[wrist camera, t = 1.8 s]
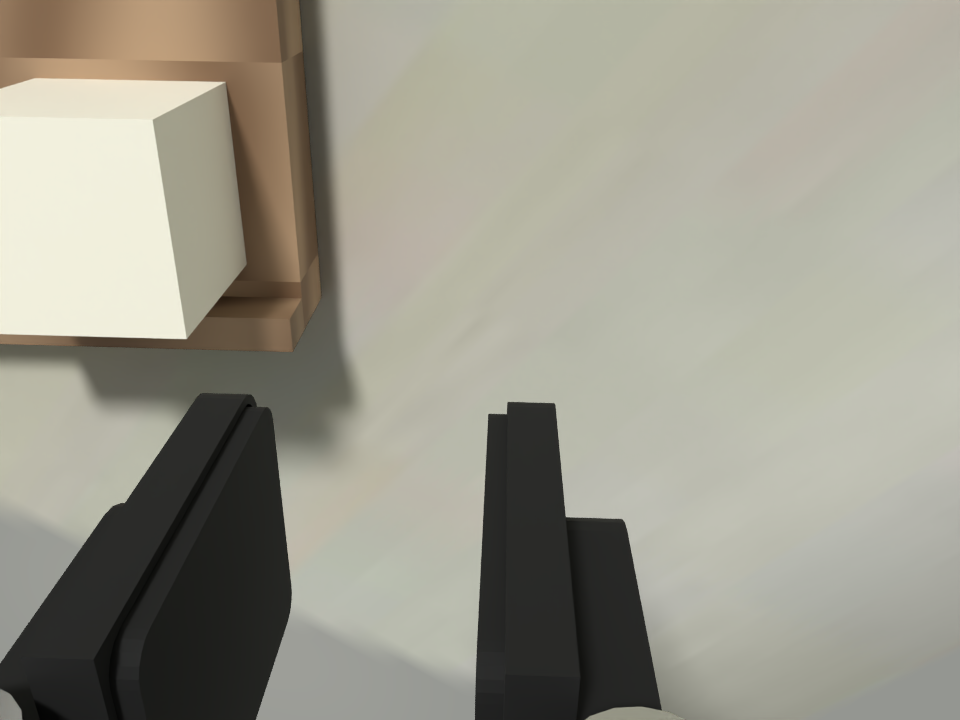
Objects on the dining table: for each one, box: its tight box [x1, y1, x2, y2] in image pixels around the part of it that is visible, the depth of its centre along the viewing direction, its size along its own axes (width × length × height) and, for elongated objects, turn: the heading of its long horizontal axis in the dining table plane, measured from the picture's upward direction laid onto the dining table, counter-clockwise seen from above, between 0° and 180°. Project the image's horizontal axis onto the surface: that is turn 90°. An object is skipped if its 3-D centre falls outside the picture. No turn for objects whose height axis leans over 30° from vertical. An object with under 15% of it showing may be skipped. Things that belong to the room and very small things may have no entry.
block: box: [0, 78, 247, 339], centre depth 21 cm, size 5×5×5 cm
